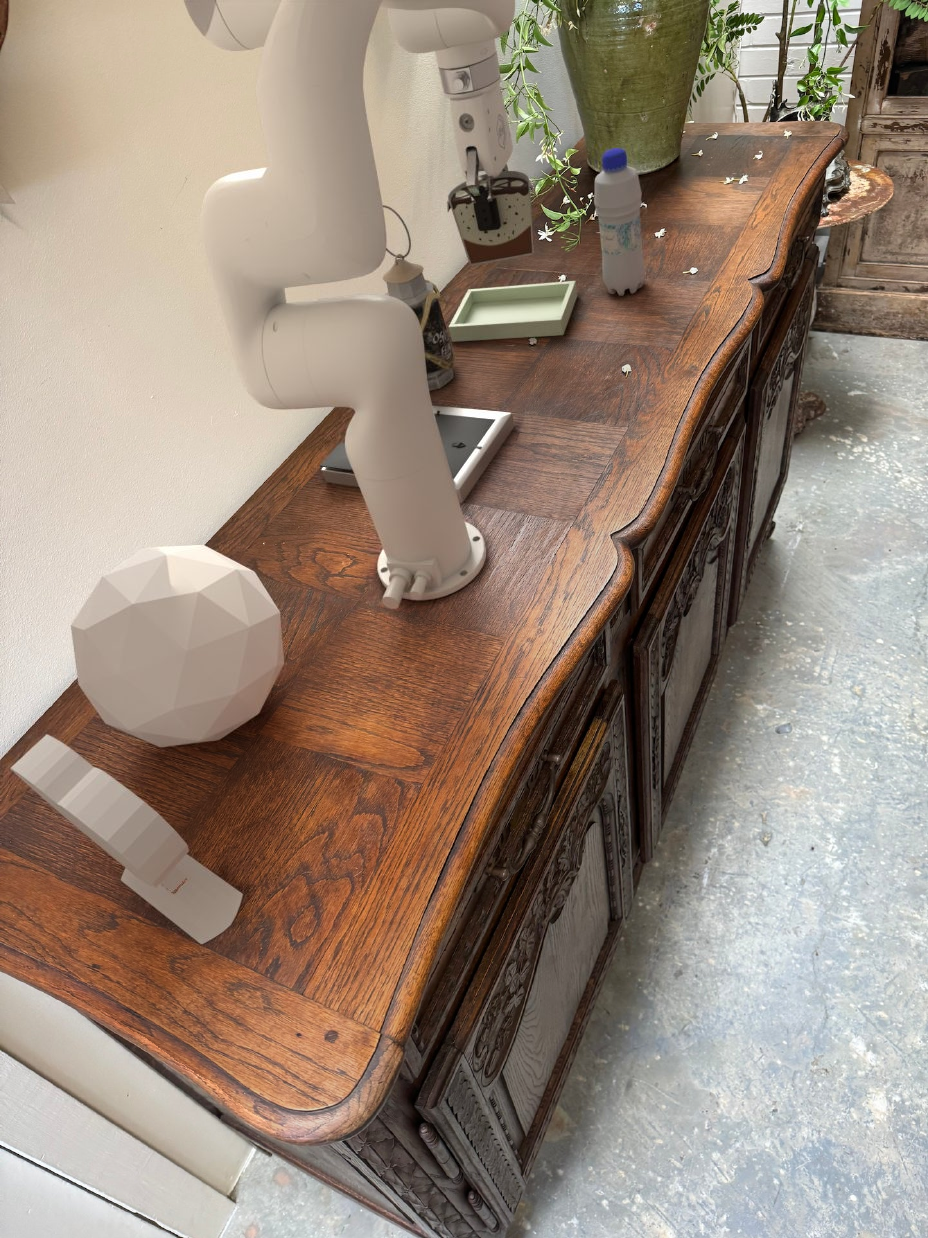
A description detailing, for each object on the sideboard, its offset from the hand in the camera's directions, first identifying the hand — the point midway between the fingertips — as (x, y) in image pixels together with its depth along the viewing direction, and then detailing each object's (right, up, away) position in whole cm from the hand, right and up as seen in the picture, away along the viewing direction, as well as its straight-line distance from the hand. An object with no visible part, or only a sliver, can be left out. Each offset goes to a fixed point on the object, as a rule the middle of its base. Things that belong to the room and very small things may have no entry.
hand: (496, 216), depth 119 cm
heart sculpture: (-29, -81, -45) cm, 97 cm away
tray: (+3, -10, +11) cm, 16 cm away
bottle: (+20, -6, +10) cm, 24 cm away
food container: (+1, -3, +4) cm, 5 cm away
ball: (-30, -66, -31) cm, 79 cm away
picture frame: (-10, -35, -8) cm, 38 cm away
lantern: (-9, -22, +5) cm, 24 cm away
